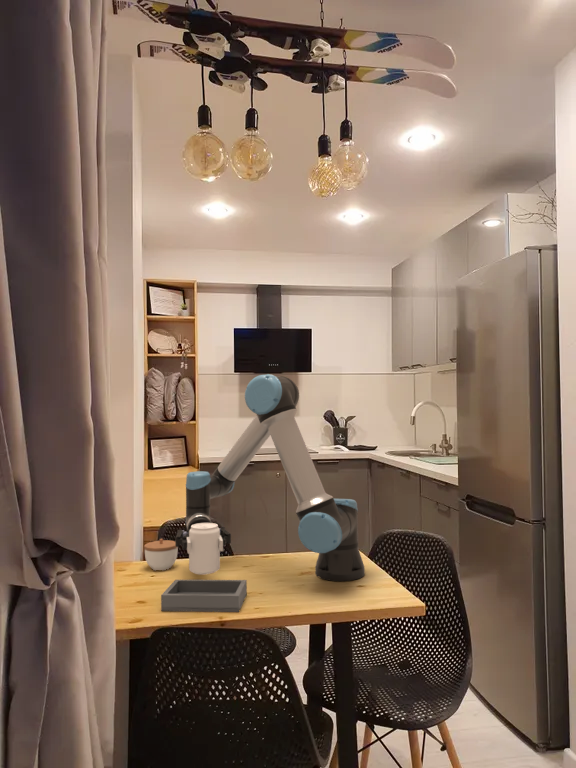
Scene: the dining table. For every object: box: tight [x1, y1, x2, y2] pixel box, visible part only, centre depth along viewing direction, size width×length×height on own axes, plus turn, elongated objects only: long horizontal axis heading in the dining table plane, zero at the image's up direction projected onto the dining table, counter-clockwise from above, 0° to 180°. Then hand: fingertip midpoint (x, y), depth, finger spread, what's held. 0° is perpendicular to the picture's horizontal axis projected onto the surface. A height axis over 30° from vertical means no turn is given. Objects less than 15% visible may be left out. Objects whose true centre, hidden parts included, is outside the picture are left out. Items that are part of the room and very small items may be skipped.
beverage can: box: [188, 522, 221, 576], centre depth 146 cm, size 8×8×12 cm
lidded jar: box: [143, 538, 179, 571], centre depth 179 cm, size 11×11×9 cm
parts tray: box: [160, 579, 248, 613], centre depth 145 cm, size 20×13×4 cm, turn 86°
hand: (205, 546), depth 142 cm, fingers closed on beverage can, 8 cm apart
